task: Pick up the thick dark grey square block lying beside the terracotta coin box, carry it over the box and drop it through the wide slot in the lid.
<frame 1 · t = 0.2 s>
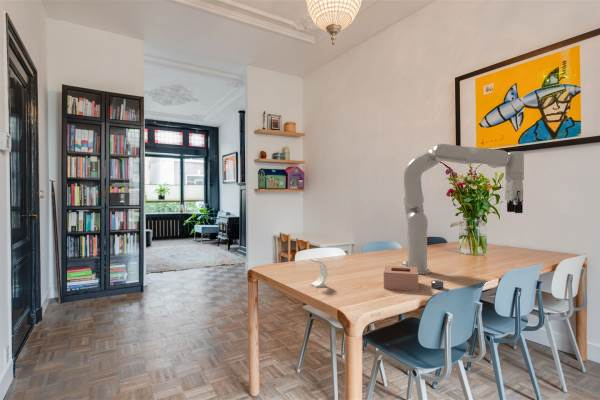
hand: (514, 212, 158), 31 cm above the table, fingers open, 9 cm apart
coin box: (400, 285, 144), on the table
headphone stand: (319, 285, 146), on the table
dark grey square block: (437, 288, 140), on the table
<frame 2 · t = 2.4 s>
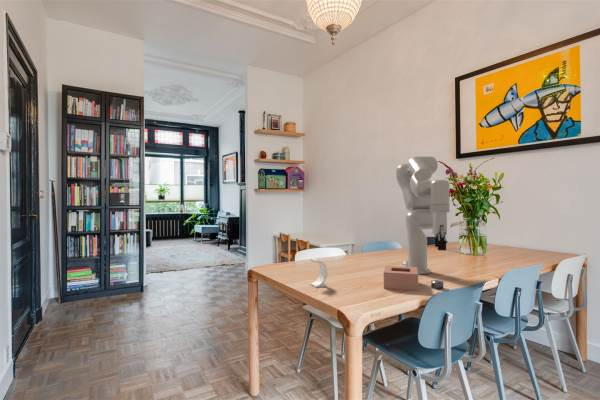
hand: (440, 248, 140), 17 cm above the table, fingers open, 9 cm apart
nothing on the table moved.
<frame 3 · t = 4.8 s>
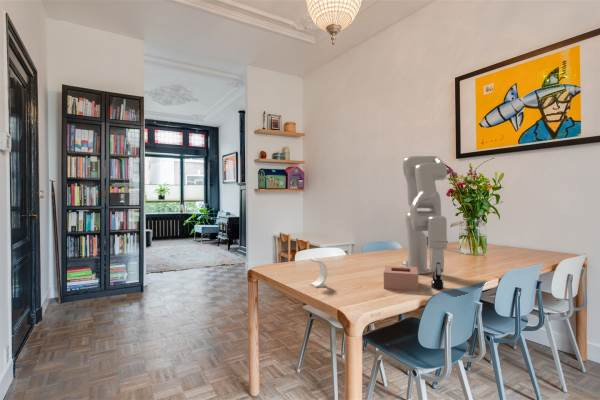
hand: (437, 286, 140), 1 cm above the table, fingers closed on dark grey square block, 4 cm apart
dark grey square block: (437, 288, 140), on the table, touching gripper
everything else where it was.
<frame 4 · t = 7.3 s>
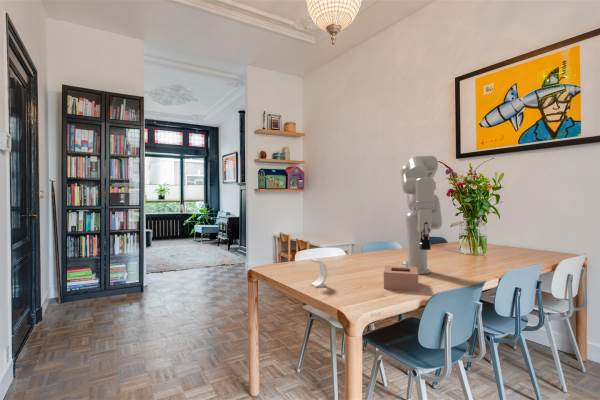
hand: (425, 247, 141), 17 cm above the table, fingers closed on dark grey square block, 4 cm apart
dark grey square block: (425, 249, 141), point 17 cm above the table, touching gripper
everything else where it was.
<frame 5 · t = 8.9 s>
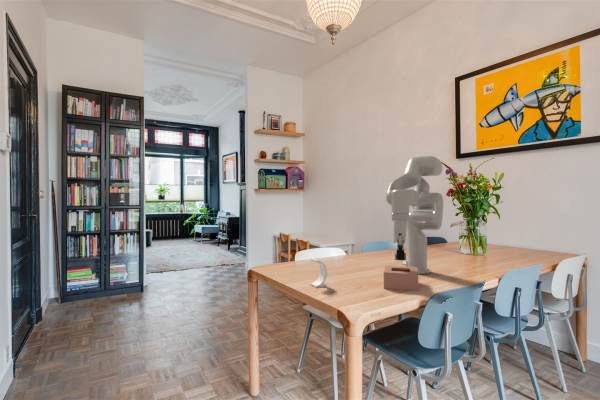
hand: (400, 257, 144), 12 cm above the table, fingers closed on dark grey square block, 4 cm apart
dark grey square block: (400, 259, 144), point 12 cm above the table, touching gripper
everything else where it was.
when the fingers open (9 cm above the table, at t = 9.9 s): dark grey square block drops 8 cm, resting on coin box.
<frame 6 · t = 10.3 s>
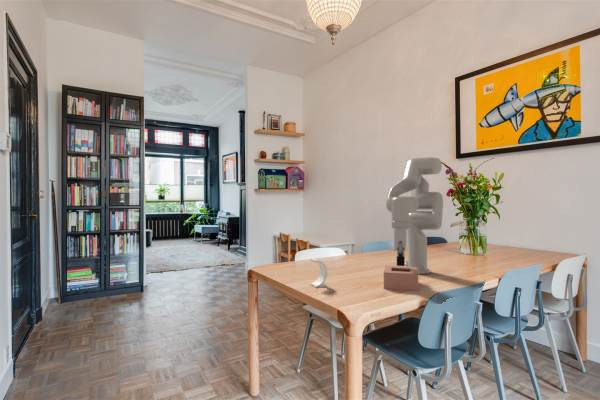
hand: (400, 263, 144), 10 cm above the table, fingers open, 9 cm apart
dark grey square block: (400, 283, 145), point 1 cm above the table, touching coin box
everything else where it was.
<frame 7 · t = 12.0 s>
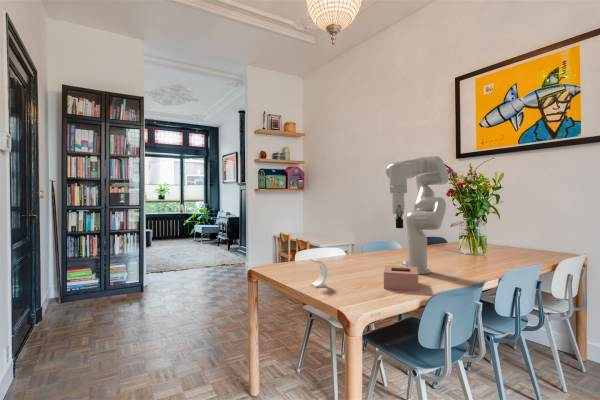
hand: (399, 226, 151), 25 cm above the table, fingers open, 9 cm apart
nothing on the table moved.
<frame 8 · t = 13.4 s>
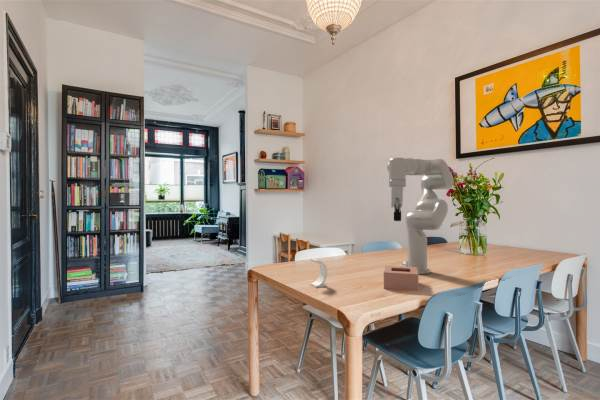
hand: (397, 220, 154), 28 cm above the table, fingers open, 9 cm apart
nothing on the table moved.
at the end: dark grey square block inside the target area on the coin box (0.2 cm from its centre), point 0.6 cm above the coin box's base; the gripper is holding nothing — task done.
